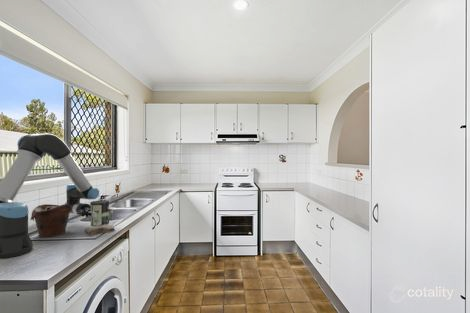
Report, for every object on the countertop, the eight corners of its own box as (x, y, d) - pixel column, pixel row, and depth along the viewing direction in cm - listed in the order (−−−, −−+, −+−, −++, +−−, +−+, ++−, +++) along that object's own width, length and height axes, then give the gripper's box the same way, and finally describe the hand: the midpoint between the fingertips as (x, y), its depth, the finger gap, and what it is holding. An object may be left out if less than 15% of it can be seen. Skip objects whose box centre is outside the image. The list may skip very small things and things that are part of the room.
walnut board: (88, 235, 146) (88, 232, 146) (85, 230, 154) (85, 228, 154) (114, 230, 155) (114, 228, 155) (109, 226, 163) (109, 224, 163)
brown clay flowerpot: (36, 231, 153) (36, 201, 153) (74, 227, 161) (74, 199, 160) (25, 241, 137) (24, 208, 136) (68, 236, 144) (68, 205, 144)
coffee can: (108, 221, 162) (107, 199, 161) (110, 225, 153) (110, 202, 153) (89, 223, 156) (89, 201, 156) (91, 228, 147) (90, 204, 147)
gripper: (98, 211, 173) (120, 214, 162) (63, 218, 153) (86, 223, 142) (98, 200, 173) (120, 203, 162) (63, 206, 153) (85, 210, 142)
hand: (104, 212), depth 152 cm, fingers closed on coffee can, 10 cm apart
